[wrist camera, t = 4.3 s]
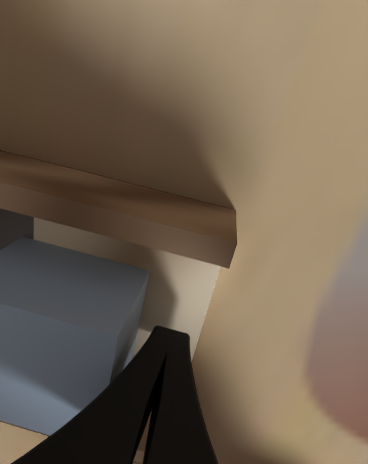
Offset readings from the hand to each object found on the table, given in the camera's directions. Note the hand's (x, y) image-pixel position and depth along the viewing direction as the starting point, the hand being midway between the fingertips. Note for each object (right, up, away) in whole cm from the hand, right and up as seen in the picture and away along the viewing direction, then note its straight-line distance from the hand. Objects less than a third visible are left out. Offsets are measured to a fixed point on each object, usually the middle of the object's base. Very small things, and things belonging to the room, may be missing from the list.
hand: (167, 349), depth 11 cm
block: (-4, +1, +1) cm, 4 cm away
